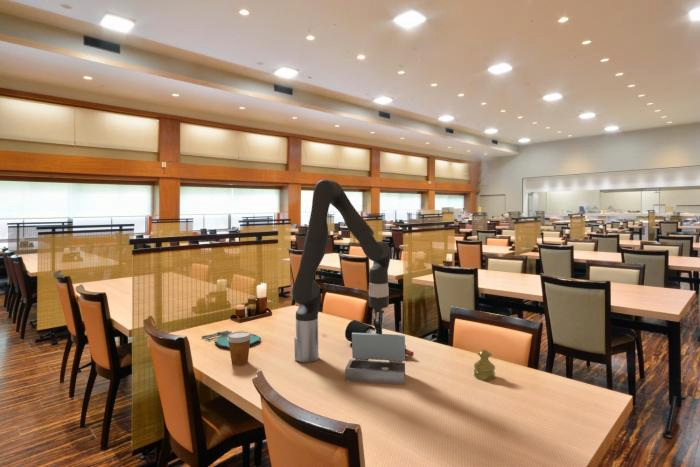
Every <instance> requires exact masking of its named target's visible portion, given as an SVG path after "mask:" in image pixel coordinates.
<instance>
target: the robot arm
mask: <svg viewBox="0 0 700 467" xmlns="http://www.w3.org/2000/svg"><path fill="white" fill-rule="evenodd" d="M330 205H331V206H333V207H334V208H335V209H336V210H337V211H338V212H339V214H340V215H341V217H342V218H343V221H344V223H345V226H346V228H347V229H348V230H349V232H350V233H351V234H352V236H353V237H354V238H355V239H356V240H357V241H358V243H359V245H360V247H361V250H362V251H363V253H364V255H365V256H366V257H367V258H368V259H369V260H370V261H372V263H373V264H372V266H371V268H369V278H368V279H369V280H368V281H369V283H368V306H369V308H373V309H374V311H373V312H372V313H373V314H372V316H373V324H374V328H375V331H376V334H383V326H384V322H385V310H384V309H386V308H388V307H389V306H390V304H389V303H390V302H389V301H390V300H389V299H390V298H389V295H390V294H389V293H390V292H389V291H390V290H389V274H388V273H389V266H390V261H391V254H392V253H391V247H390V246H389V244H388V243H387V242H386V241H382V240H380V241H377V240H376V238H375V236H374V235H375V234H374V233H375V232H374V230H373V228H371V226H370V225H369V224H368V223H367V221H366V220H364V218H363V217H362V216H361V214H359V212H358V211H357V210H356V208H355V207H354V206H353V204H352V202H351V200H350V199H349V198H348V195H347V194H346V193H345V190H344V189H343V188H342V186H341V184H340V183H338V182H337V181H334V180H330V179H329V180H328V179H321V180H318V181H317V183H316V184H315V186H314V190H313V193H312V201H311V208H310V209H311V210H310V216H309V220H308V226H307V231H306V234H305V239H304V243H303V248H302V253H301V257H300V263H299V267H298V270H297V274H296V277H295V280H294V282H293V286H292V292H291V293H292V299H293V300H294V302H295V303H296V304H298V305H299V307H298V308H297V310H296V312H295V337H294V361H296V362H300V363H306V364H307V363H314V362H316V361H317V360H319V312H320V309H321V308H320V307H321V306H320V305H321V290H320V285H319V284H318V282H317V281H316V280H315V276H316V273H317V270H318V268H319V266H320V265H321V263H322V260H323V259H324V257H325V255H326V252H327V247H328V242H329V237H330V235H329V234H330V233H329V227H328V225H329V224H328V213H329V209H330Z"/></svg>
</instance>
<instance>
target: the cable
mask: <svg viewBox="0 0 700 467" xmlns="http://www.w3.org/2000/svg"><path fill="white" fill-rule="evenodd" d="M352 333H371V334H376V329H375V326H374V327H373V325H370V324H367V323H365V322H363V321H359V320H356V319H353V320H351V321H349V323H348V324H347V326H346V327H345V331H344V337H345V338H346V340H347V341H348V342H351V343H352ZM414 355H415V353H414V351H411V350H409V349H407V346H406V344H405V356H408V357H411V358H413V357H414Z"/></svg>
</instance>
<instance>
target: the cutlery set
mask: <svg viewBox="0 0 700 467" xmlns="http://www.w3.org/2000/svg"><path fill="white" fill-rule="evenodd" d="M230 333H233V331H228V330H225V331H217V332H216V333H212V334H208V335H207V334H205V335H202V336H201V339H205V340H207V341H208V342H210V341H212V340H214V344H215V345H217V346H218V347H220V348H221V347H222V348H228V349H230V348H229V342H228V340H227V338H228V335H229V334H230ZM250 335H251V339H250V346H252V345H254V344H256V343H258V342H261V341H262V337H261V336H259V335H257V334H253V333H250Z"/></svg>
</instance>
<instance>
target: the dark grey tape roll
mask: <svg viewBox="0 0 700 467" xmlns="http://www.w3.org/2000/svg"><path fill="white" fill-rule="evenodd" d="M378 370H392V368H390V367H387V366H383V367H379V368H378Z"/></svg>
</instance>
